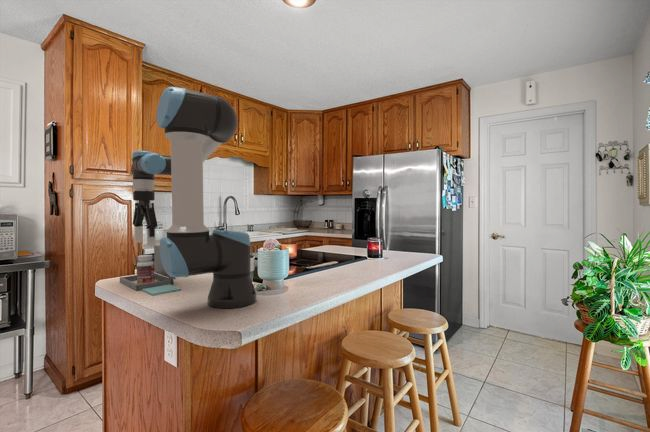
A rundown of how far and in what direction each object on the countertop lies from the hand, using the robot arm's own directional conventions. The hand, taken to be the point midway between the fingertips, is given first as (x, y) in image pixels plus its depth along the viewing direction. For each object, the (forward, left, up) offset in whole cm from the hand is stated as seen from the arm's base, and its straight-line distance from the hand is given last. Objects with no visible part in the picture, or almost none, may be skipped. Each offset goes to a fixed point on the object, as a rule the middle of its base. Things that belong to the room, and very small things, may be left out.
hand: (144, 243), depth 134 cm
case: (0, 0, -16) cm, 16 cm away
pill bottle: (0, 0, -16) cm, 16 cm away
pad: (-16, 0, -16) cm, 23 cm away
